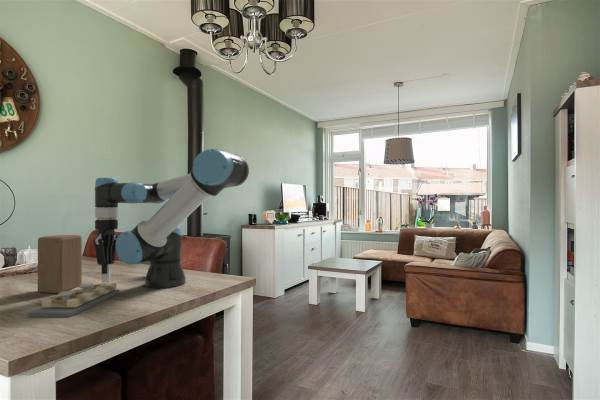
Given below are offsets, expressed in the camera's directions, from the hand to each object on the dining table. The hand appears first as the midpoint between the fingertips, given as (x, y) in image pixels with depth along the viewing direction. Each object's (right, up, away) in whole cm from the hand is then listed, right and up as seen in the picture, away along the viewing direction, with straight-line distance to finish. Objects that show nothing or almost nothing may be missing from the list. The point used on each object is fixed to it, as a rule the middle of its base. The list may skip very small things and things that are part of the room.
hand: (106, 281), depth 130 cm
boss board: (+2, -2, -19) cm, 19 cm away
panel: (+2, -1, -17) cm, 17 cm away
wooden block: (-16, -3, -2) cm, 16 cm away
